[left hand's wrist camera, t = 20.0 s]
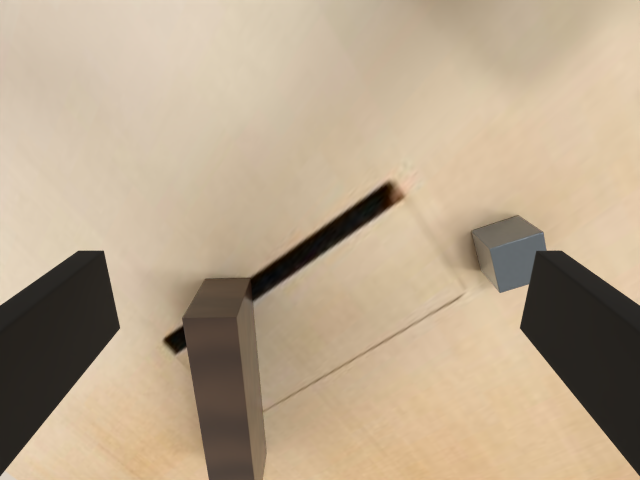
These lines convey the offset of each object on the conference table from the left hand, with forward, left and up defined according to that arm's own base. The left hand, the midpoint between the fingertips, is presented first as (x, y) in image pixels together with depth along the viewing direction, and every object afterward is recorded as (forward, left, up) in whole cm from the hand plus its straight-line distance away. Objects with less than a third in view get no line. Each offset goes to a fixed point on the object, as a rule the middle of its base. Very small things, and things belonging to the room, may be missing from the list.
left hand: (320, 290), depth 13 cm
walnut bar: (+27, -10, -29) cm, 41 cm away
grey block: (+10, +19, -29) cm, 36 cm away
